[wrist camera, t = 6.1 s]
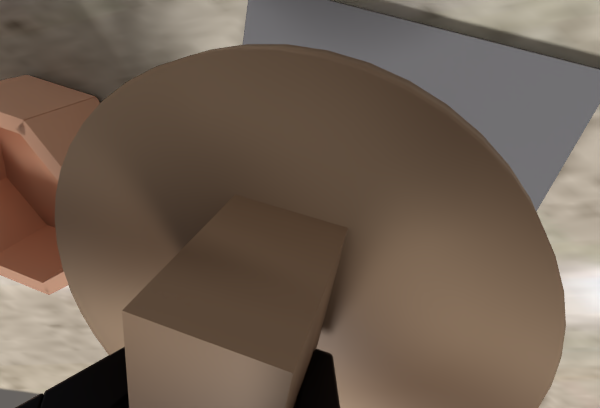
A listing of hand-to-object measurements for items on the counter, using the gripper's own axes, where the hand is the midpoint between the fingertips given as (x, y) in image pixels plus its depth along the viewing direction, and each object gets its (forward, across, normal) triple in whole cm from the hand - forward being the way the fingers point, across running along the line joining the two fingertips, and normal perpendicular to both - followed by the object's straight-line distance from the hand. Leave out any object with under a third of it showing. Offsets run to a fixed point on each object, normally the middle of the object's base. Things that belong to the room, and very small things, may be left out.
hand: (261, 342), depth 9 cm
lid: (+2, 0, 0) cm, 2 cm away
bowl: (+13, +17, +6) cm, 23 cm away
